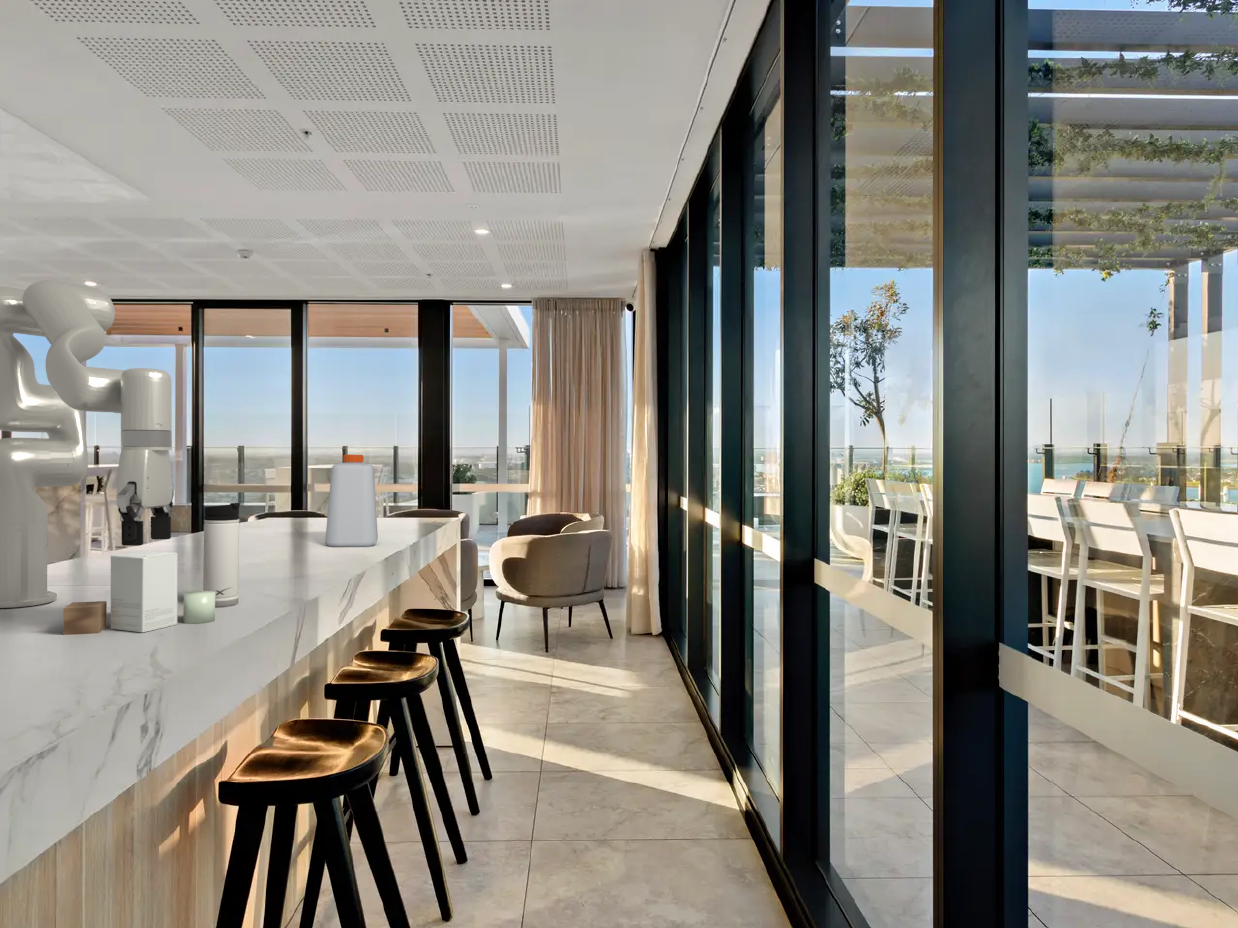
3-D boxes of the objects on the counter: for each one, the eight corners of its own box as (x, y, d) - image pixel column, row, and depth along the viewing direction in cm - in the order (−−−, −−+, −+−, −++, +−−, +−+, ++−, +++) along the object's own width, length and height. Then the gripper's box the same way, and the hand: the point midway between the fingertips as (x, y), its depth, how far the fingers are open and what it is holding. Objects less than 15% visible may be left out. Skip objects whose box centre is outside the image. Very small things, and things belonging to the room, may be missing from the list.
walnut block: (63, 635, 134) (63, 608, 134) (72, 628, 139) (72, 602, 139) (98, 633, 136) (98, 606, 136) (106, 627, 140) (106, 601, 140)
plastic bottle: (329, 541, 262) (330, 453, 262) (378, 541, 266) (379, 454, 265) (323, 547, 248) (325, 454, 247) (376, 547, 251) (377, 455, 251)
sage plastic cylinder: (178, 624, 144) (178, 595, 143) (190, 617, 149) (191, 590, 148) (207, 624, 144) (208, 595, 144) (219, 618, 149) (219, 590, 149)
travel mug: (225, 608, 157) (227, 504, 157) (195, 606, 159) (196, 502, 158) (246, 602, 163) (248, 501, 163) (217, 600, 165) (218, 500, 164)
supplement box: (178, 624, 143) (179, 552, 143) (141, 633, 136) (142, 557, 136) (146, 620, 145) (147, 549, 145) (108, 629, 138) (109, 554, 138)
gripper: (148, 442, 148) (149, 537, 148) (95, 440, 131) (96, 548, 131) (191, 442, 149) (192, 536, 149) (144, 441, 132) (145, 547, 132)
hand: (147, 542), depth 140 cm, fingers open, 9 cm apart
